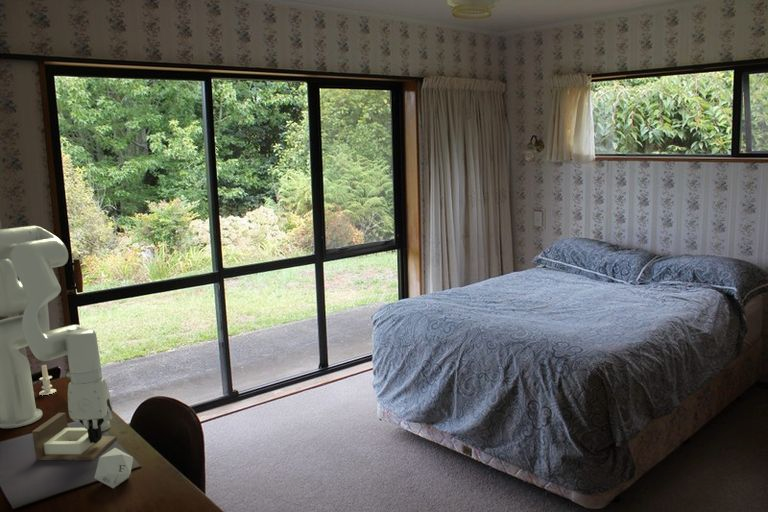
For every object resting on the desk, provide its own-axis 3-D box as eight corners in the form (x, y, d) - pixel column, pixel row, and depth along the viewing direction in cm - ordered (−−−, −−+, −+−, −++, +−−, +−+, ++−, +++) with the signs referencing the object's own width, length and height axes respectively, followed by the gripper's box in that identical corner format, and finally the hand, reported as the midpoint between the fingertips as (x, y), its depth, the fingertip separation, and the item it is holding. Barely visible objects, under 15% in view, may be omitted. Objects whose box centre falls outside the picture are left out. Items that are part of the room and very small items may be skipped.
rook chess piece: (104, 432, 188) (101, 406, 187) (90, 431, 189) (87, 405, 188) (114, 425, 193) (110, 400, 191) (100, 425, 194) (97, 399, 192)
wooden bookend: (36, 459, 173) (32, 431, 172) (62, 439, 185) (58, 412, 184) (93, 460, 172) (89, 431, 170) (116, 439, 183) (113, 412, 182)
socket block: (45, 454, 174) (43, 444, 173) (66, 437, 184) (65, 427, 183) (80, 454, 173) (79, 444, 172) (100, 437, 183) (99, 427, 182)
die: (91, 496, 155) (107, 469, 152) (87, 466, 161) (102, 439, 157) (125, 495, 160) (141, 469, 157) (120, 466, 166) (135, 440, 163)
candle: (35, 395, 220) (31, 366, 218) (46, 390, 225) (41, 361, 223) (49, 396, 219) (45, 366, 218) (59, 390, 224) (55, 361, 223)
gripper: (51, 381, 171) (61, 447, 174) (105, 379, 170) (115, 446, 173) (68, 372, 179) (77, 435, 182) (120, 370, 177) (128, 434, 180)
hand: (95, 440), depth 177 cm, fingers closed
